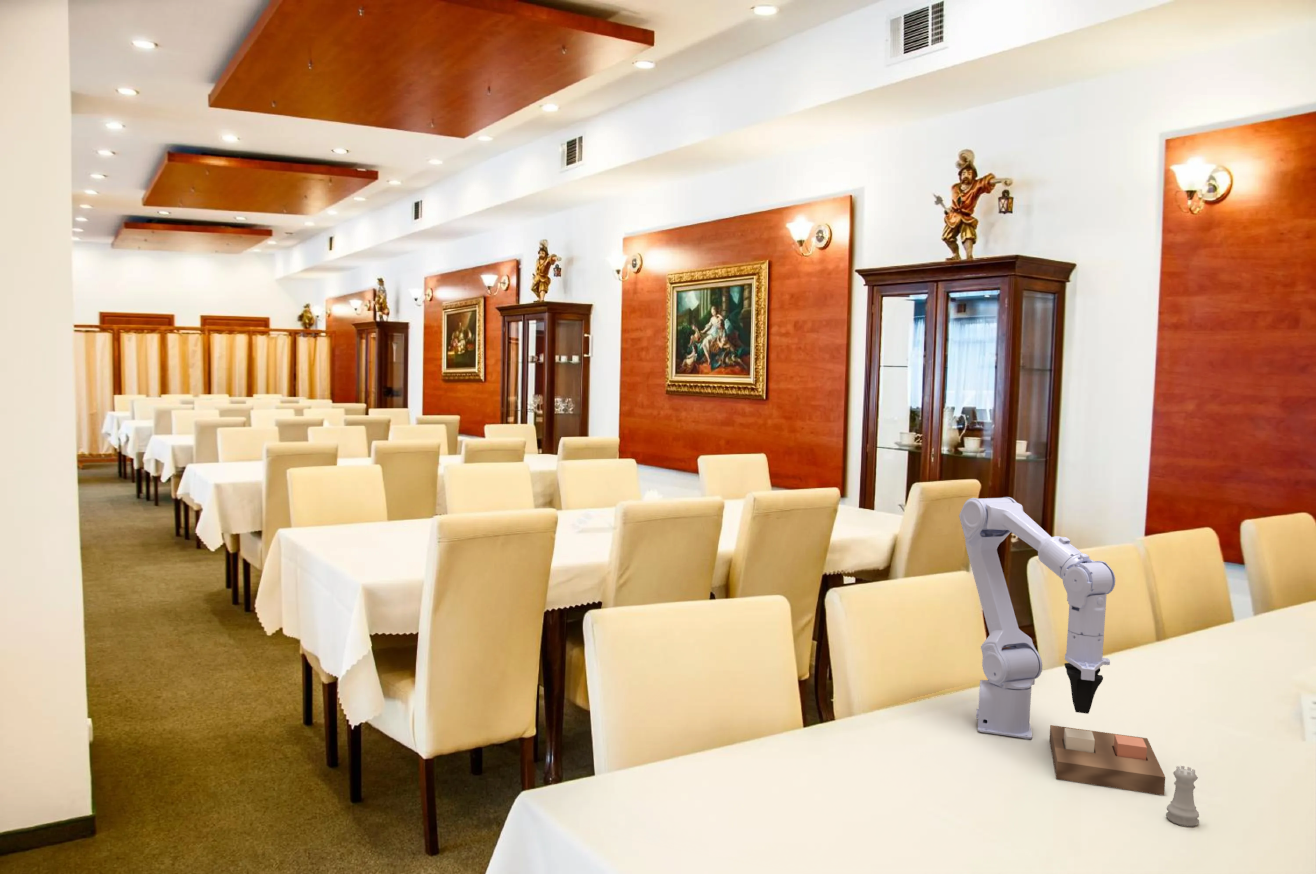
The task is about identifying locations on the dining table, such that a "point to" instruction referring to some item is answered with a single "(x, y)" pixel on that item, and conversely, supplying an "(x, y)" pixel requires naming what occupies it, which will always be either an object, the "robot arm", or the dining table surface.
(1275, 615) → the dining table surface
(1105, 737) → the key panel
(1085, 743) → the ivory key
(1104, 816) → the dining table surface
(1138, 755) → the terracotta key
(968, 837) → the dining table surface
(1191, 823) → the rook chess piece
